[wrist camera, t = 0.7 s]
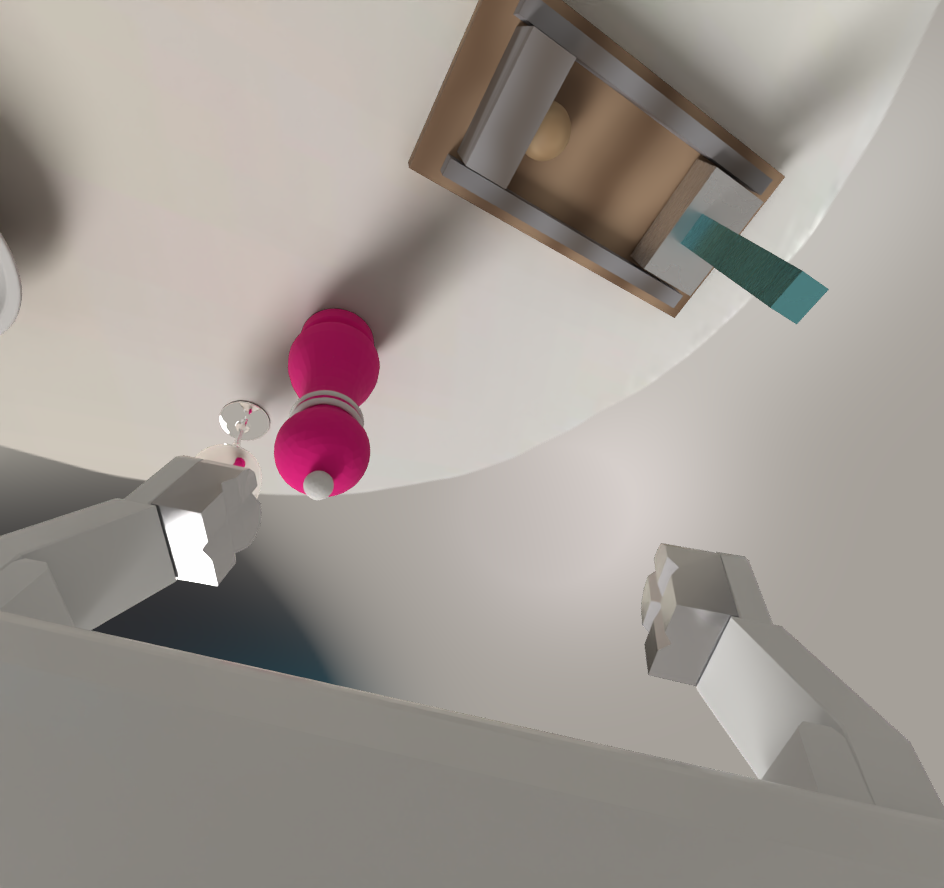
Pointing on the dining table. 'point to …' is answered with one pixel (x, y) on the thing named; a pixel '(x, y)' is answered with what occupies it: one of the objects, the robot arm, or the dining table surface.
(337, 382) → the pepper mill
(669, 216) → the track slider block
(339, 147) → the dining table surface
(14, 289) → the dish
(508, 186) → the tray
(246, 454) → the wineglass
